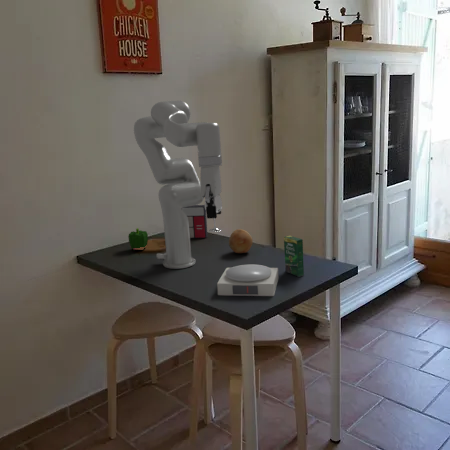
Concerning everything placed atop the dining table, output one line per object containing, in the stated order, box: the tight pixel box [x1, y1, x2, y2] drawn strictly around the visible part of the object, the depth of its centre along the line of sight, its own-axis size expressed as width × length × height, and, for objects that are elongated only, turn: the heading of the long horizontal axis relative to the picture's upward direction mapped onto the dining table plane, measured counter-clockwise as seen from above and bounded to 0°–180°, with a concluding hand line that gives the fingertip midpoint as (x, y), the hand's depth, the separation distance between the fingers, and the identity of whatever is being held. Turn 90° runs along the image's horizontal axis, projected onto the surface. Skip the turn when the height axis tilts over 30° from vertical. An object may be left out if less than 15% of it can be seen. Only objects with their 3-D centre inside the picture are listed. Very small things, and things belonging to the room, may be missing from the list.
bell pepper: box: [127, 227, 149, 250], centre depth 223 cm, size 8×8×10 cm
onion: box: [228, 228, 254, 254], centre depth 209 cm, size 10×10×10 cm
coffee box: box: [283, 235, 305, 278], centre depth 180 cm, size 8×3×13 cm, turn 28°
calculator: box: [181, 204, 208, 239], centre depth 237 cm, size 11×4×15 cm, turn 80°
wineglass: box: [204, 193, 223, 233], centre depth 170 cm, size 6×6×12 cm
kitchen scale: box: [216, 264, 279, 297], centre depth 170 cm, size 18×17×5 cm
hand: (214, 215), depth 170 cm, fingers closed on wineglass, 5 cm apart
